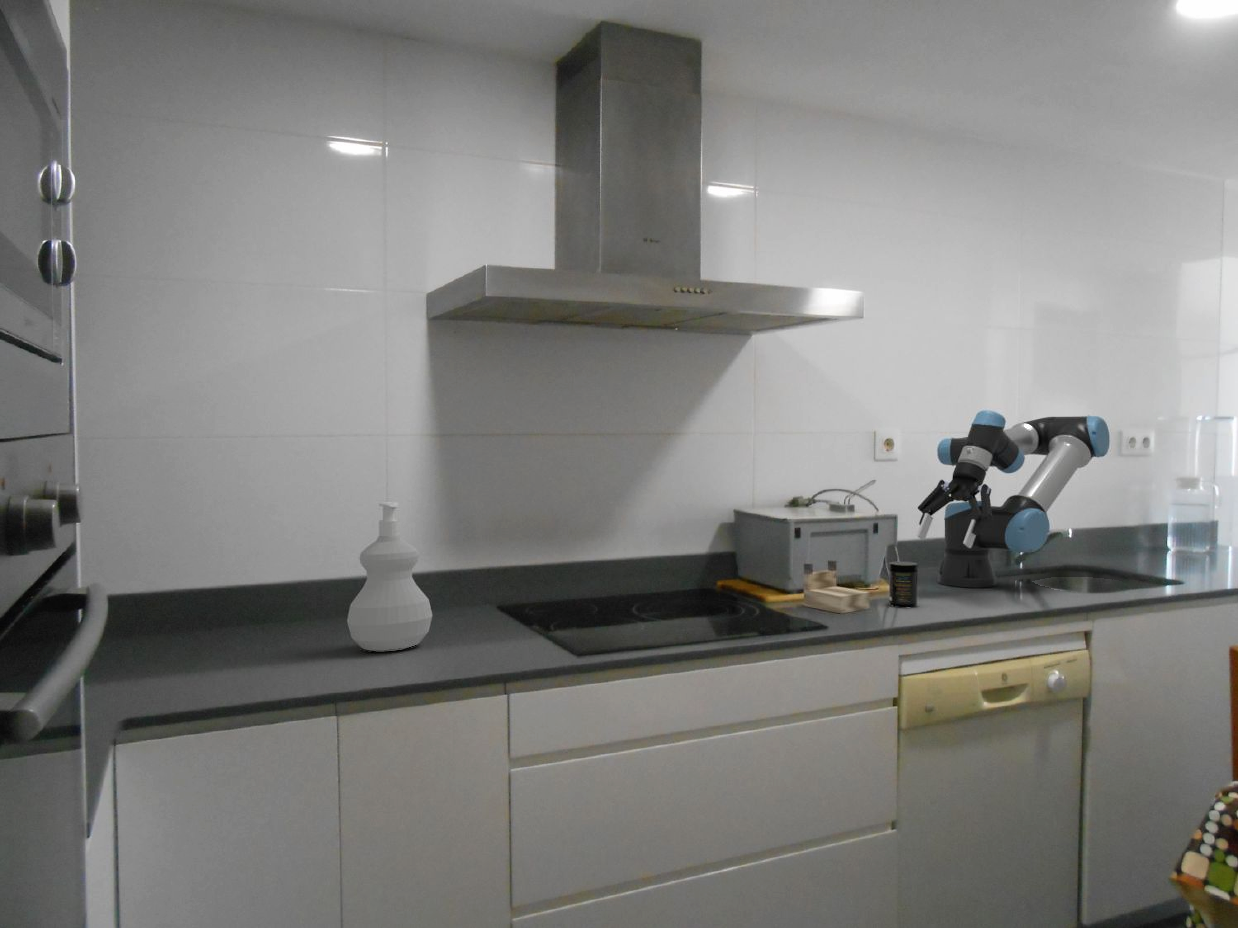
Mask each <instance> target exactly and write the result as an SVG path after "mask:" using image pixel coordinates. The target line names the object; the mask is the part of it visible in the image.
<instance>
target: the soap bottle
mask: <svg viewBox="0 0 1238 928" xmlns="http://www.w3.org/2000/svg"><path fill="white" fill-rule="evenodd" d="M378 506H379V507H382V519H379V520H378V536H377V538H376V540H375V541H373V542H372V543H371V544H369V545H368V546H367V547H365V549H364V550H362V551H361V552H360V553H359V554H360V555H359V562H360V564H361V566H362V567H363V568H364V570H365V571H366V581H365V583H364V585H363V587H362V588H361V590H360V591H359V593H357V595H356V597H355V598H354V599H353V600H352V602H351V603H350V604H349V605H350V606H349V611H348V614H347V619H346V622H347V625H348V626H347V627H348V629H349V634H350V636H351V639H352V640H353V641H354V642H355V643H356V644H357V645H358V646H359V647H360V648H361V649H362V648H363V649H367V650H388V649H398V648H407V647H411V646H414V645H417V644H418V645H419V644H420V642H422V640H423V639H424V638H425V637H426V635H427V634H428V633H429V631H430V627H431V623H432V619H433V612H432V609H431V607H432V606H431V604H430V599H429V597H428V596H426V594H425V593H424V592H423V590H421V589H420V587H419V586H418V585H417V583H416V582H415V580H414V578H413V569H414V568H415V566H416V564H417V563H418V561H419V556H420V555H419V551H418V549H416V548H415V547H414V546H413V545H411V544H410V543H408V542H406V541H405V540H403V538H402V537H401V535H400V525H399V524H400V520H399V519H395V518H396V517H395V516H396V515H395V513H396V512H395V509H397V507H398V506H399V503H398V502H396V501H385V502H383V501H381V502H379V504H378ZM418 645H417V646H418ZM414 647H415V646H414ZM411 648H412V647H411Z"/></svg>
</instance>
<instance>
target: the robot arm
mask: <svg viewBox="0 0 1238 928" xmlns="http://www.w3.org/2000/svg"><path fill="white" fill-rule="evenodd" d="M1006 421H1007V420H1006V418H1005V416H1004V415H1002V414H1001V413H999V412H997V411H994V410H993V411H992V410H986V409H985V410H980V411H978V412H977V413H976V415H975V417H974V419H973V421H972V423H971V424H970V425H971V426H970V429H969V432H968V434H967V436H965V437H959V438H957V437H956V438H954V437H949V438H944V439H943V438H942V439H941V441H940V442H939V443H938V445H937V455H936V456H937V459H938V461H939V462H940V463H941V464H942V465H946V466H952V467H954V466H955V467H954V470H953V472H952V477H951V478H952V479H951V480H950V481H949V482H947V481H945V480H943V479H940V480H939V481H938V484H937V485H936V487H935V488H934V489H933V490H932V491H931V492H930V493H929V494H928V495H927V497H926V498H924V500H923V501H922V502H921V503H920V504H919V505H918V506H917V510H918V511H920V512H921V513H922V515H921V517H920V520H919V522H918V525H919V528H918V531H917V532H916V536H917V537H918V538H919V539H920V540H921V541H925V540H926V538H927V535H928V533H929V530H930V527H931V526H932V522H933V520H934V517H933V515H934V514H936V513H937V512H938V511H940V510H941V509H942V508H944V507H945V511H944V512H945V513H944V556H943V559H942V562H941V565H940V567H939V571H938V574H937V582H938V583H939V584H941V585H944V586H949V587H950V586H951V587H959V588H975V589H976V588H977V589H978V588H990V587H995V586H996V584H997V583H996V582H997V578H996V575H995V571H994V567H993V565H992V562H991V558H990V549H991V550H999V551H1006V552H1014V553H1020V554H1021V553H1034V552H1036V551H1038V550H1041V548H1042V547H1043V546H1044V545H1045V544H1046V541H1047V539H1048V536H1049V535H1048V533H1049V532H1050V520H1049V517H1048V516H1049V515H1048V511H1049V509H1050V508H1051V507H1052V505H1053V504H1054V502H1056V500H1057V498H1058V497H1059V496H1060V494H1061V492H1062V491H1063V489H1064V488H1065V487H1066V485H1067V484H1068V483H1069V481H1070V480H1071V478H1072V477H1073V475H1074V474H1075V473H1076V471H1077V470H1078V469H1081V468H1084V467H1086V466H1087V465H1088V464H1089V463H1090V462H1091V460H1092V459H1093V458H1098V459H1099V458H1101V457H1102V458H1103V457H1105V456H1106V455H1107V454H1108V452H1109V449H1110V442H1111V441H1110V430H1109V427H1108V425H1107V422H1106V420H1105V419H1104V418H1102V417H1100V416H1097V415H1096V416H1093V415H1087V416H1086V415H1084V416H1083V415H1082V416H1081V415H1080V416H1047V417H1041V418H1040V417H1039V418H1036V419H1032V420H1029V421H1024V422H1020V423H1016V424H1014V425H1013V426H1011V428H1007V429H1005V428H1006V426H1005V425H1006V423H1007V422H1006ZM1029 455H1037V456H1045V457H1044V458H1043V460H1042V461H1041V462H1040V464H1039V466H1037V468H1036V470H1035V471H1034V472H1033V473H1032V475H1031V476H1030V477H1029V479H1027V481H1026V483H1025V484H1024V485H1023V487H1022V488H1021V490H1020V491H1019V492H1018V494H1013V495H1010V496H1009V497H1007V499H1006V500H1005V501H1004V502H1003V504H1002V505H1000V506H996V505H994V506H993V505H992V504H991V494H992V488H991V487H990V486H988V485H987V483H984V480H985V479H986V475H987V472H989V471H988V470H989V468H990V467H992V468H993V467H995V468H997V470H999V471H1001V472H1002V473H1004V474H1013V473H1015V472H1017V471H1019V470H1020V469H1021V468H1022V467H1023V466H1024V463H1025V459H1026V457H1025V456H1029ZM983 483H984V484H983ZM979 493H980V500H978V499H977V497H976V495H978V494H979ZM955 501H956V502H955Z"/></svg>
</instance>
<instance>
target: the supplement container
mask: <svg viewBox="0 0 1238 928" xmlns="http://www.w3.org/2000/svg"><path fill="white" fill-rule="evenodd" d="M918 569H919V568H918V563H917V562H912V561H900V560H899V561H889V562H888V571H889V572H888V573H889V574H888V578H889V579H888V602H889V605H890V606H892V605H893V606H892V607H895V606H898V607H897V608H902V607H910V608H914V607H916V606H917V605H918Z"/></svg>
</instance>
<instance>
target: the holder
mask: <svg viewBox="0 0 1238 928" xmlns="http://www.w3.org/2000/svg"><path fill="white" fill-rule="evenodd" d="M813 566H814V565H813V563H810V562H807V563H803V606H804V607H808V608H813V609H818V610H823V611H827V612H833V613H837V614H845V613H847V614H848V613H853V612H857V611H864V610H869V609H870V593H871V592H869V591H866V590H865V591H864V590H861V589H855V588H848V587H843V586H837V560H833V559H831V560H827V569H826V570H819V571H813V568H814V567H813Z"/></svg>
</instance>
